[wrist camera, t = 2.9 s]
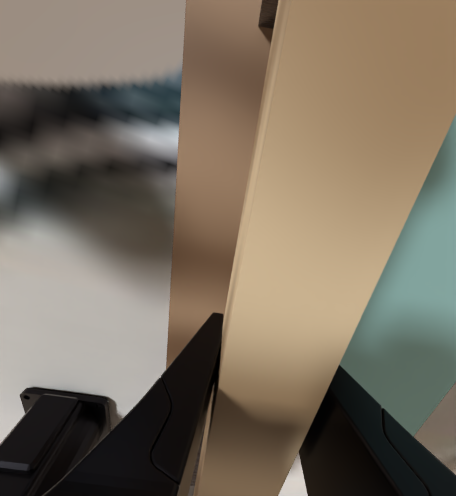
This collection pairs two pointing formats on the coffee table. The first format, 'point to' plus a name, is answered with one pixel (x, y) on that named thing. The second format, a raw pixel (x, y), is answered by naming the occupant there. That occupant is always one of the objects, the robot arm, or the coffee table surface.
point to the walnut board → (213, 155)
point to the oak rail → (321, 216)
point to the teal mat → (414, 306)
